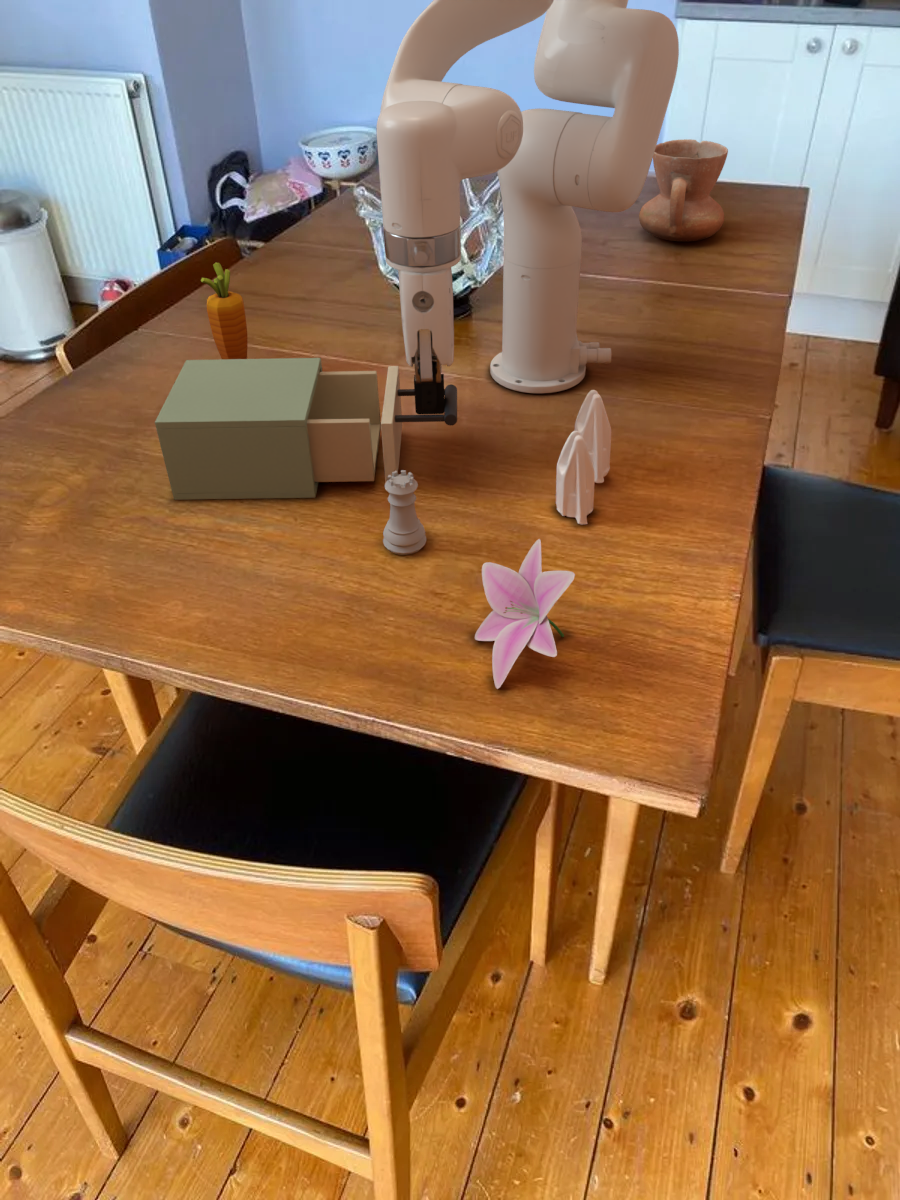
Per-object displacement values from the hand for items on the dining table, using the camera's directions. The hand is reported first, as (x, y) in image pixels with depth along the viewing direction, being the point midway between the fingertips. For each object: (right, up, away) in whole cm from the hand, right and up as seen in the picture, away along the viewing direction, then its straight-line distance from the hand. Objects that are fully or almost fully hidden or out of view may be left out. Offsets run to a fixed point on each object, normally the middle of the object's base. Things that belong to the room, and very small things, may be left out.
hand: (430, 410), depth 104 cm
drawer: (-8, -4, +3) cm, 9 cm away
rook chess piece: (-2, -15, -8) cm, 18 cm away
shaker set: (+17, -9, -2) cm, 19 cm away
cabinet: (-20, -5, +4) cm, 21 cm away
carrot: (-26, +9, +21) cm, 35 cm away
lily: (+8, -26, -21) cm, 34 cm away
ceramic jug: (+42, +43, +60) cm, 85 cm away
